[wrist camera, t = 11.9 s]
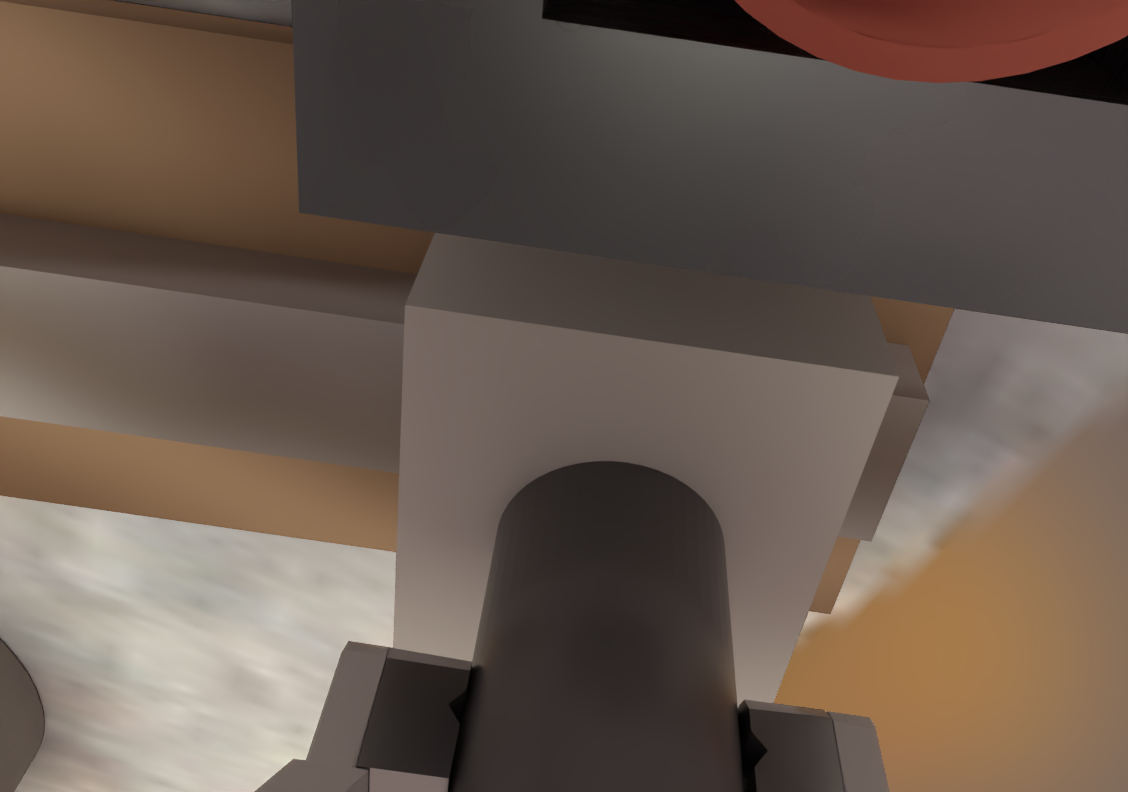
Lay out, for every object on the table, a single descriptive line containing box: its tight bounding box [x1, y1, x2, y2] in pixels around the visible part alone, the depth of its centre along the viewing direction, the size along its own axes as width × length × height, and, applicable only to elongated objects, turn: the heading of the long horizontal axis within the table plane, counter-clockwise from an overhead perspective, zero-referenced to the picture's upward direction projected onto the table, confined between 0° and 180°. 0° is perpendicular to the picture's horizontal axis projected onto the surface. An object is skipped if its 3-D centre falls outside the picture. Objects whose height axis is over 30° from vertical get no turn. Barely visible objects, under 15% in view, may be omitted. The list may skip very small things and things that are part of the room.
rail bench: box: [0, 0, 954, 614], centre depth 17 cm, size 10×21×2 cm, turn 83°
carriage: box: [393, 233, 899, 792], centre depth 13 cm, size 7×6×8 cm
